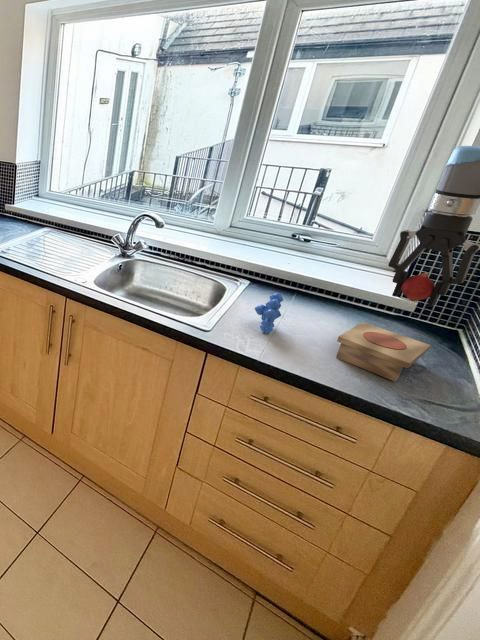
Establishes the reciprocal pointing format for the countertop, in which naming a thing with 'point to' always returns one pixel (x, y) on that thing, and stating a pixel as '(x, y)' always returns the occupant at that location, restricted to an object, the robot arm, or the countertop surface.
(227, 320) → the countertop surface
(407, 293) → the onion
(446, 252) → the robot arm
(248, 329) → the countertop surface
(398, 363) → the wooden stand red oval
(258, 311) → the grapes
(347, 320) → the countertop surface
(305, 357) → the countertop surface
